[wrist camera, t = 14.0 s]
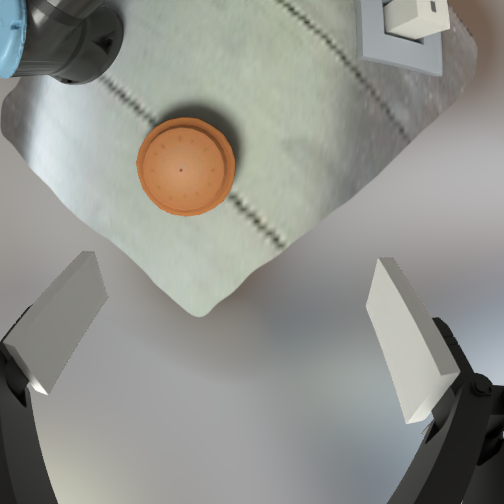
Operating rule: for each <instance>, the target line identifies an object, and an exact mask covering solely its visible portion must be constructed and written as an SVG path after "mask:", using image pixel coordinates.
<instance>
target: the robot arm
mask: <svg viewBox="0 0 504 504" xmlns="http://www.w3.org/2000/svg"><path fill="white" fill-rule="evenodd" d="M106 1H107V0H0V77H1V78H10V77H20V76H34V75H49V76H51V77H53V78H55V79H56V80H58V81H60V82H62V83H64V84H69V85H79V84H85V83H88V82H91V81H93V80H95V79H96V78H98V77H99V76H101V75H102V74H103V73H104V72H105V71H106V70H107V69H108V68H109V67H110V65H111V64H112V63H113V61H114V60H115V58H116V56H117V54H118V52H119V50H120V47H121V43H122V38H123V27H122V23H121V20H120V18H119V17H118V15H117V14H116V13H115V12H113V11H112V10H109V9H107V8H105V7H102V5H103V4H104V3H105V2H106ZM107 299H108V295H107V292H106V289H105V286H104V283H103V279H102V276H101V273H100V269H99V266H98V262H97V258H96V255H95V252H93V251H82V252H81V253H80V254H79V255H78V256H77V258H76V259H74V260H73V262H72V263H71V264H70V265H69V266H68V267H67V268H66V269H65V270H64V271H63V272H62V273H61V274H60V275H59V276H58V277H57V278H56V279H55V280H54V281H53V283H52V284H51V285H50V286H49V287H48V288H47V289H46V290H45V291H44V293H43V294H42V295H41V296H40V297H39V298H38V299H37V301H36V302H35V303H34V304H32V305H31V306H30V307H28V308H27V309H26V310H25V312H24V313H23V314H22V315H21V317H20V318H19V319H18V320H17V321H16V324H14V325H13V326H12V327H11V328H10V330H9V331H8V332H7V334H6V335H5V336H4V337H3V339H2V340H1V342H0V504H58V502H57V499H56V497H55V494H54V491H53V489H52V486H51V483H50V480H49V476H48V473H47V470H46V467H45V463H44V460H43V456H42V452H41V448H40V444H39V440H38V436H37V431H36V426H35V421H34V416H33V410H32V405H31V397H30V392H29V389H28V388H27V384H28V382H30V383H31V384H32V386H33V387H34V388H35V390H36V391H39V392H41V393H44V394H46V395H49V394H50V392H51V390H52V388H53V386H54V384H55V383H56V381H57V379H58V377H59V376H60V374H61V372H62V370H63V369H64V367H65V365H66V363H67V362H68V360H69V358H70V357H71V355H72V353H73V352H74V350H75V348H76V347H77V345H78V343H79V342H80V340H81V338H82V337H83V335H84V334H85V332H86V331H87V329H88V327H89V326H90V324H91V323H92V321H93V320H94V318H95V317H96V315H97V314H98V312H99V310H100V309H101V307H102V306H103V305H104V303H105V302H106V300H107ZM366 308H367V311H368V313H369V316H370V319H371V321H372V324H373V326H374V329H375V331H376V334H377V337H378V339H379V342H380V345H381V348H382V350H383V354H384V356H385V359H386V362H387V365H388V368H389V371H390V374H391V377H392V380H393V383H394V386H395V389H396V392H397V395H398V398H399V402H400V405H401V409H402V412H403V415H404V419H405V422H406V424H409V423H413V422H418V421H422V420H425V418H426V417H427V416H428V415H429V414H430V412H431V411H432V414H433V417H434V419H433V421H432V422H431V423H430V424H429V425H428V426H427V427H426V428H425V429H424V431H423V432H422V434H423V435H424V434H425V433H426V435H425V437H424V439H423V441H422V443H421V445H420V447H419V449H418V451H417V453H416V455H415V457H414V459H413V461H412V463H411V465H410V466H409V468H408V470H407V472H406V474H405V475H404V477H403V479H402V480H401V482H400V484H399V485H398V487H397V489H396V491H395V492H394V493H393V495H392V497H391V498H390V500H389V501H388V503H387V504H461V502H462V500H463V502H462V504H504V438H503V431H504V386H499V385H492V382H491V381H490V380H489V379H488V378H487V377H485V376H484V375H482V374H478V373H474V372H473V369H472V368H471V366H470V364H469V362H468V360H467V358H466V356H465V355H464V353H463V351H462V349H461V347H460V345H458V342H457V340H456V339H455V337H453V333H452V332H451V330H450V328H449V327H448V325H447V324H446V323H444V322H443V321H442V320H441V319H440V318H439V317H437V318H431V316H430V315H429V313H428V311H427V310H426V308H425V306H424V305H423V303H422V301H421V300H420V298H419V297H418V295H417V293H416V292H415V290H414V288H413V287H412V285H411V284H410V282H409V281H408V279H407V278H406V276H405V275H404V273H403V272H402V270H401V269H400V267H399V266H398V264H397V263H396V261H395V260H394V258H378V260H377V265H376V269H375V273H374V277H373V281H372V286H371V289H370V293H369V297H368V301H367V304H366Z"/></svg>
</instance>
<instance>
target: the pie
mask: <svg viewBox="0 0 504 504" xmlns="http://www.w3.org/2000/svg"><path fill="white" fill-rule="evenodd" d="M136 165H137V170H138V176H139V179H140V182H141V185H142V188H143V190H144V191H145V193H146V194H147V195H148V197H149V198H150V199H151V200H152V201H153V202H154V203H155V204H156V205H157V206H158V207H159V208H160V209H162V210H164V211H166V212H168V213H170V214H173V215H179V216H193V215H200V214H203V213H205V212H207V211H209V210H212V209H213V208H215V207H216V206H217V205H219V204H220V203H222V202H223V201H224V199H225V198H226V196H227V195H228V193H229V192H230V190H231V188H232V184H233V180H234V176H235V157H234V154H233V151H232V147H231V145H230V144H229V142H228V141H227V139H226V138H225V136H224V134H223V133H221V132H220V131H219V130H217V129H216V128H215V127H213V126H212V125H210V124H208V123H206V122H204V121H202V120H200V119H198V118H190V117H180V118H175V119H171V120H167V121H166V122H164V123H162V124H160V125H158V126H156V127H155V128H154V129H153V130H152V131H151V132H150V133H149V134H148V135H147V136H146V138H145V140H144V142H143V143H142V145H141V147H140V149H139V153H138V157H137V162H136Z"/></svg>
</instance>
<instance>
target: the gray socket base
mask: <svg viewBox="0 0 504 504" xmlns="http://www.w3.org/2000/svg"><path fill="white" fill-rule="evenodd" d="M392 1H393V0H355V10H356V30H357V59H361V60H367V61H373V62H378V63H383V64H387V65H392V66H396V67H400V68H404V69H408V70H412V71H416V72H420V73H423V74H427V75H430V76H433V77H434V76H442V45H441V31H440V32H437V33H434V34H431V35H427V36H424V37H421V38H418V39H415V40H413V41H410V40H407V39H403V38H399V37H396V36H392V35H388V34H384V19H383V7H385V6H386V5H387V4H389V3H390V2H392Z"/></svg>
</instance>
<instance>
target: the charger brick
mask: <svg viewBox="0 0 504 504" xmlns="http://www.w3.org/2000/svg"><path fill="white" fill-rule="evenodd" d="M383 19H384V34H388V35H392V36H396V37H399V38H403V39H407V40H410V41H413V40H415V39H418V38H421V37H424V36H427V35H431V34H434V33H437V32H440V31H444V30H447V29H450V22H449V13H448V6H447V0H393V1H392V2H390V3H389V4H387V5H386V6H385V7H383Z"/></svg>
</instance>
